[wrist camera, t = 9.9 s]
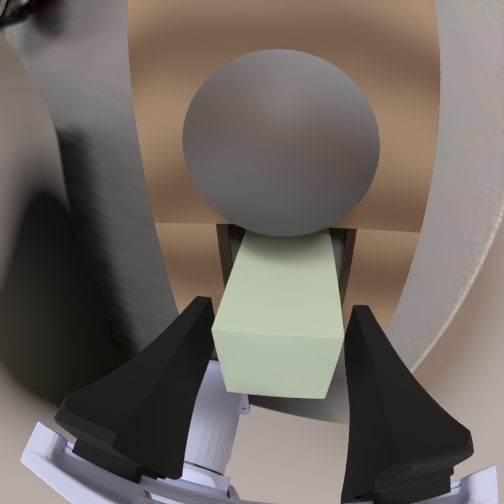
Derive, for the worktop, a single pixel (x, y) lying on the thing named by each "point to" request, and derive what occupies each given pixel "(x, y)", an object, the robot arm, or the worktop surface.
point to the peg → (280, 317)
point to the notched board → (327, 48)
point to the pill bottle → (2, 6)
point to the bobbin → (281, 142)
